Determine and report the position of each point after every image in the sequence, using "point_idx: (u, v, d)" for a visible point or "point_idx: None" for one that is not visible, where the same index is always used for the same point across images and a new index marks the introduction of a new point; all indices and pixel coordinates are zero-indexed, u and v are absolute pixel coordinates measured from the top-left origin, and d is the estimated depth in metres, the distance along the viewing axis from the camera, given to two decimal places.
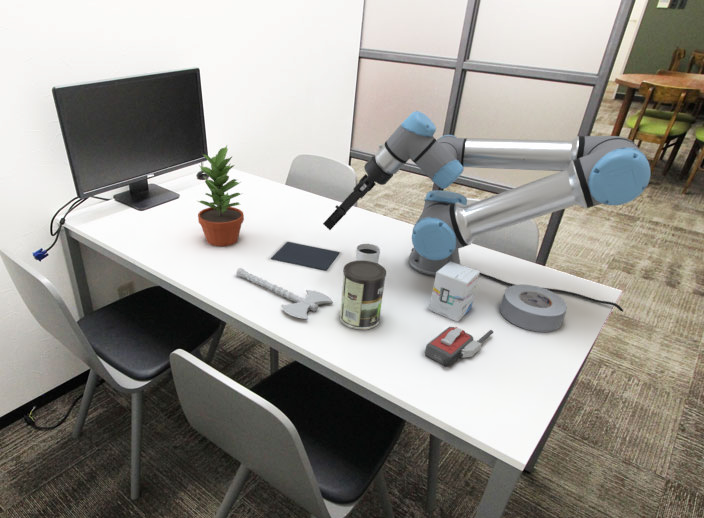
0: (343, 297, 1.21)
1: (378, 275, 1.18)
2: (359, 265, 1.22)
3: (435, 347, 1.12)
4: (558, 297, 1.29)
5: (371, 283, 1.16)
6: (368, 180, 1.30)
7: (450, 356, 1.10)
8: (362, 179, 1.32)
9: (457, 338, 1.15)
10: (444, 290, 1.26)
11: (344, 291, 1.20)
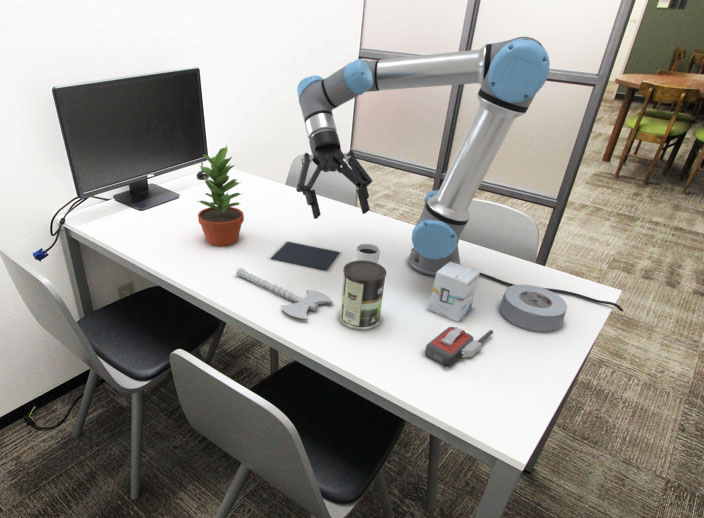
0: (343, 297, 1.21)
1: (378, 275, 1.18)
2: (359, 265, 1.22)
3: (435, 347, 1.12)
4: (558, 297, 1.29)
5: (371, 283, 1.16)
6: (313, 154, 1.25)
7: (450, 356, 1.10)
8: None
9: (457, 338, 1.15)
10: (444, 290, 1.26)
11: (344, 291, 1.20)
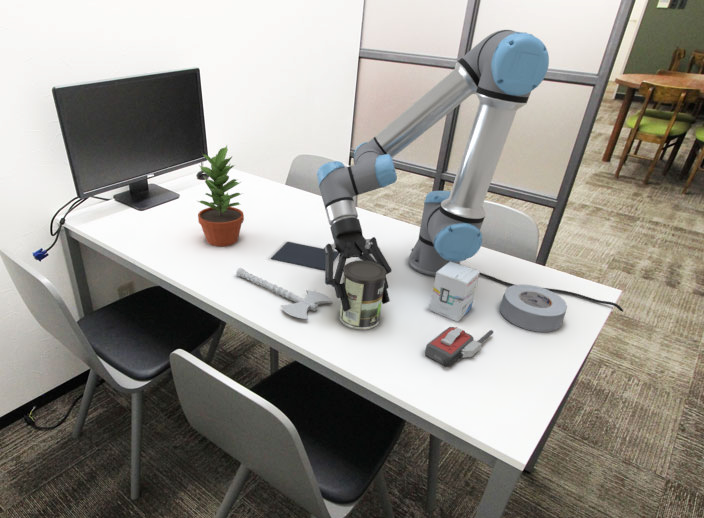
0: None
1: (378, 275, 1.18)
2: (359, 265, 1.22)
3: (435, 347, 1.12)
4: (558, 297, 1.29)
5: (371, 283, 1.16)
6: (334, 241, 1.23)
7: (450, 356, 1.10)
8: None
9: (457, 338, 1.15)
10: (444, 290, 1.26)
11: None
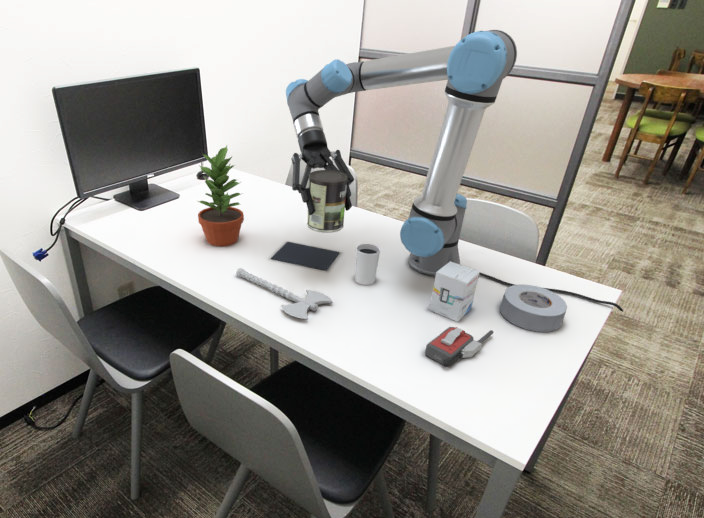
0: None
1: (340, 179, 1.28)
2: (323, 172, 1.32)
3: (435, 347, 1.12)
4: (558, 297, 1.29)
5: (333, 185, 1.26)
6: (301, 152, 1.34)
7: (450, 356, 1.10)
8: None
9: (457, 338, 1.15)
10: (444, 290, 1.26)
11: None
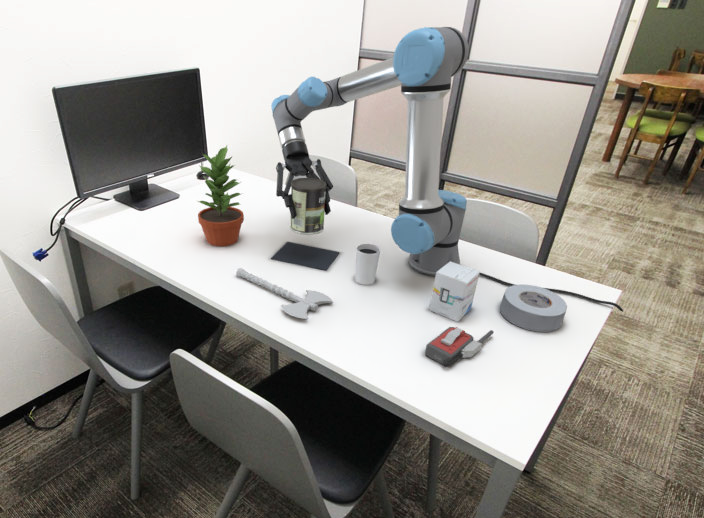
0: None
1: (319, 186, 1.41)
2: (304, 180, 1.45)
3: (435, 347, 1.12)
4: (558, 297, 1.29)
5: (312, 192, 1.39)
6: None
7: (450, 356, 1.10)
8: None
9: (457, 338, 1.15)
10: (444, 290, 1.26)
11: None
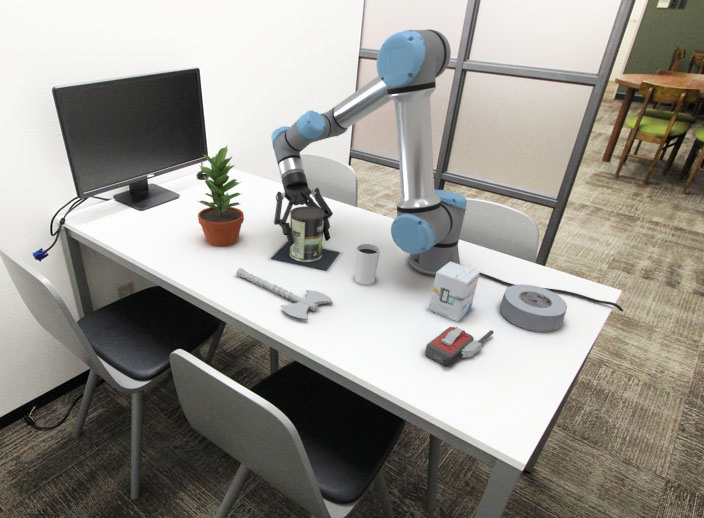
0: None
1: (318, 216, 1.46)
2: (303, 209, 1.50)
3: (435, 347, 1.12)
4: (558, 297, 1.29)
5: (311, 222, 1.44)
6: None
7: (450, 356, 1.10)
8: None
9: (457, 338, 1.15)
10: (444, 290, 1.26)
11: (291, 230, 1.49)
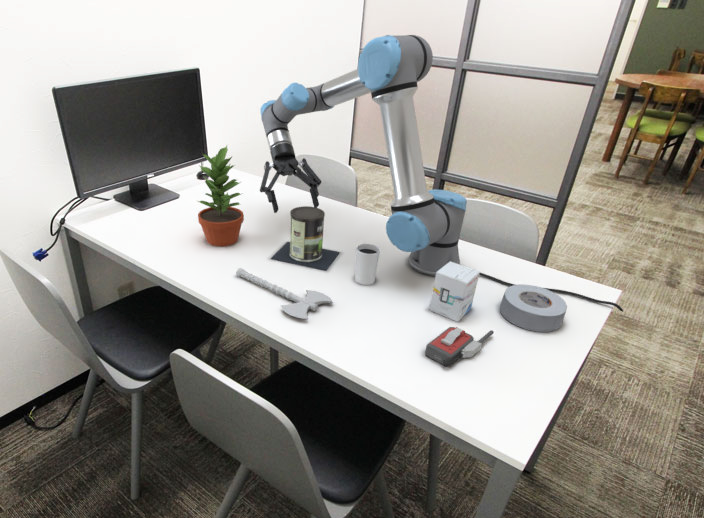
0: (291, 235, 1.50)
1: (318, 215, 1.46)
2: (303, 209, 1.50)
3: (435, 347, 1.12)
4: (558, 297, 1.29)
5: (311, 222, 1.44)
6: (273, 162, 1.58)
7: (450, 356, 1.10)
8: None
9: (457, 338, 1.15)
10: (444, 290, 1.26)
11: (291, 230, 1.49)
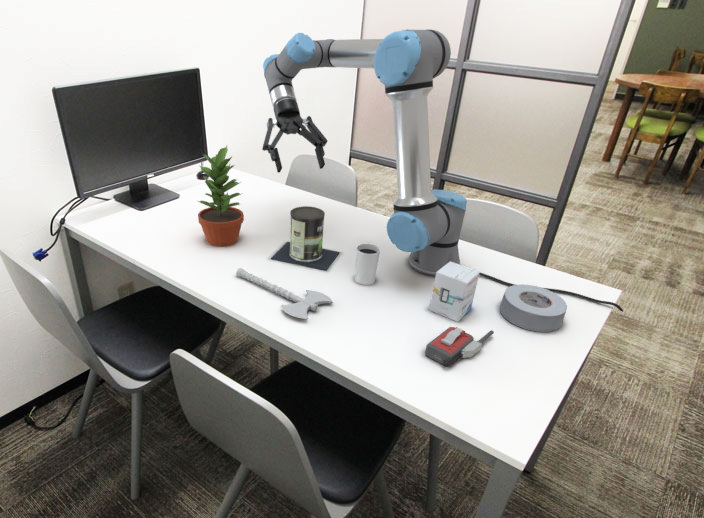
0: (291, 235, 1.50)
1: (318, 215, 1.46)
2: (303, 209, 1.50)
3: (435, 347, 1.12)
4: (558, 297, 1.29)
5: (311, 222, 1.44)
6: (276, 119, 1.49)
7: (450, 356, 1.10)
8: None
9: (457, 338, 1.15)
10: (444, 290, 1.26)
11: (291, 230, 1.49)
